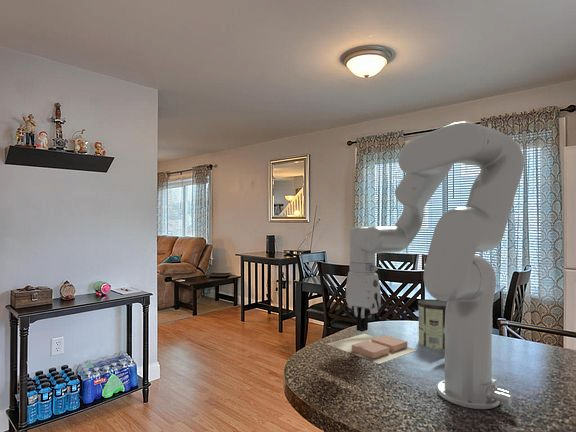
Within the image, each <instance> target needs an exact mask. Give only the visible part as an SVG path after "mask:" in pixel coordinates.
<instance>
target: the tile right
mask: <svg viewBox="0 0 576 432" xmlns="http://www.w3.org/2000/svg"><path fill="white" fill-rule="evenodd" d="M376 337H377V336H376ZM371 342H374V343H377V344H380V345H383V346H386V347H389V351H392V352H395V351H398V350H401V349H404V348H406V347H408V341H407V340H404V339H400V338H398V337H393V336H390V335H386V334H384V335H381V336H378V337H377V338H374V339H371Z"/></svg>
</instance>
